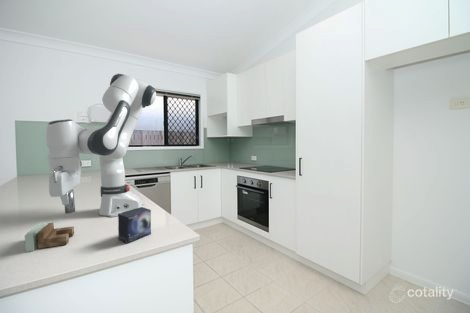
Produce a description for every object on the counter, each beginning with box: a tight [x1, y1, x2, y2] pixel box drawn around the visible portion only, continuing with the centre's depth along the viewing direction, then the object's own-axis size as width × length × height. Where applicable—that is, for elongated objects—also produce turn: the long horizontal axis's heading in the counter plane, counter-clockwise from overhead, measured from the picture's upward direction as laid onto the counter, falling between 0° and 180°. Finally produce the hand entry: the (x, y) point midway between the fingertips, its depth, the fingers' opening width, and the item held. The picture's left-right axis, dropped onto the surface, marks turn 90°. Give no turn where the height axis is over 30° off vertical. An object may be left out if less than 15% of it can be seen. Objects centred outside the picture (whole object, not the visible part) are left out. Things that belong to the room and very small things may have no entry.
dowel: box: [63, 189, 76, 214], centre depth 80 cm, size 3×3×8 cm
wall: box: [24, 221, 47, 253], centre depth 80 cm, size 2×12×6 cm, turn 23°
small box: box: [117, 207, 152, 244], centre depth 87 cm, size 11×6×10 cm, turn 148°
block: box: [38, 222, 75, 249], centre depth 83 cm, size 8×10×6 cm
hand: (68, 202), depth 80 cm, fingers closed on dowel, 3 cm apart
